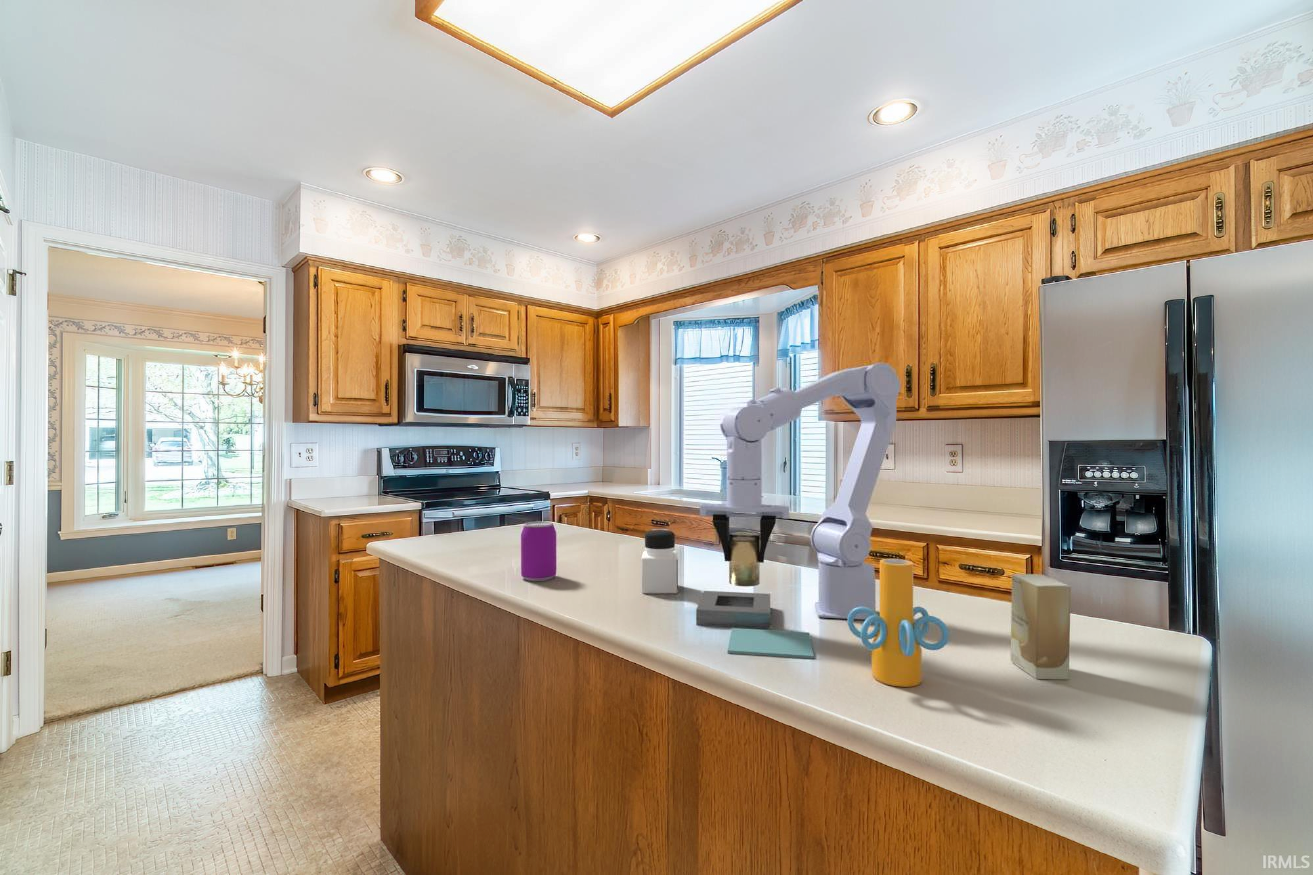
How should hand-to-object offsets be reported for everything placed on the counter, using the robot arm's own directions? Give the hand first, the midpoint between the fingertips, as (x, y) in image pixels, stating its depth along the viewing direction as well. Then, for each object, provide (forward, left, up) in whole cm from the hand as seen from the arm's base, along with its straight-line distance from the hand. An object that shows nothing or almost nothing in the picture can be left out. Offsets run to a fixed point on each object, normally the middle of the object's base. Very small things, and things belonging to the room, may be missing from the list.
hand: (744, 560), depth 99 cm
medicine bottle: (+18, -19, -11) cm, 28 cm away
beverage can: (+46, -24, -11) cm, 53 cm away
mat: (-4, +9, -10) cm, 14 cm away
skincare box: (-39, +13, -11) cm, 43 cm away
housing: (+2, -4, -10) cm, 11 cm away
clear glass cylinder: (0, 0, -4) cm, 4 cm away
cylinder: (-20, +19, -11) cm, 30 cm away
